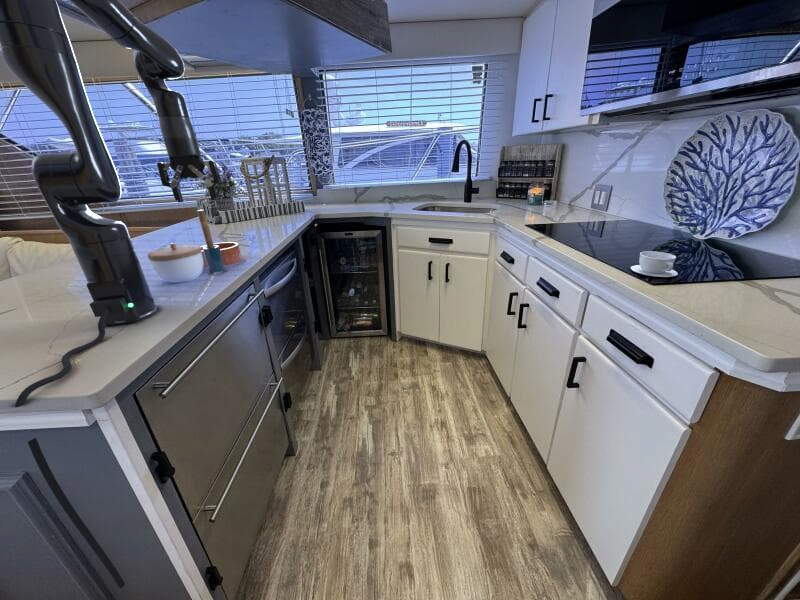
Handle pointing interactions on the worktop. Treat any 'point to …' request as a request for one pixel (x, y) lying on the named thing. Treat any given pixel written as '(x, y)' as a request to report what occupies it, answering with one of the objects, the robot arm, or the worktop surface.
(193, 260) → the lidded bowl
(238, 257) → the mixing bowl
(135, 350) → the worktop surface
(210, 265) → the utensil pot
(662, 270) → the teacup
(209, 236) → the stirring stick
